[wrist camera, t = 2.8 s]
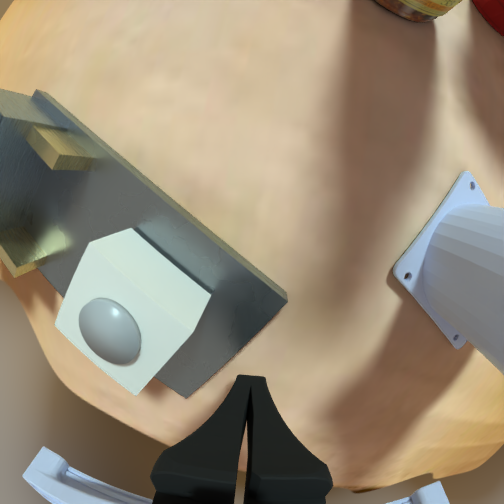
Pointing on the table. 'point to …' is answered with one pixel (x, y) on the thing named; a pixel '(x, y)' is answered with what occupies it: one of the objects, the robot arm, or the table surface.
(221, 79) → the table surface
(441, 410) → the table surface
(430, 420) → the table surface
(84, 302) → the white button box
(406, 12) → the sauce bottle
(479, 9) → the plastic cup
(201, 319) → the base
